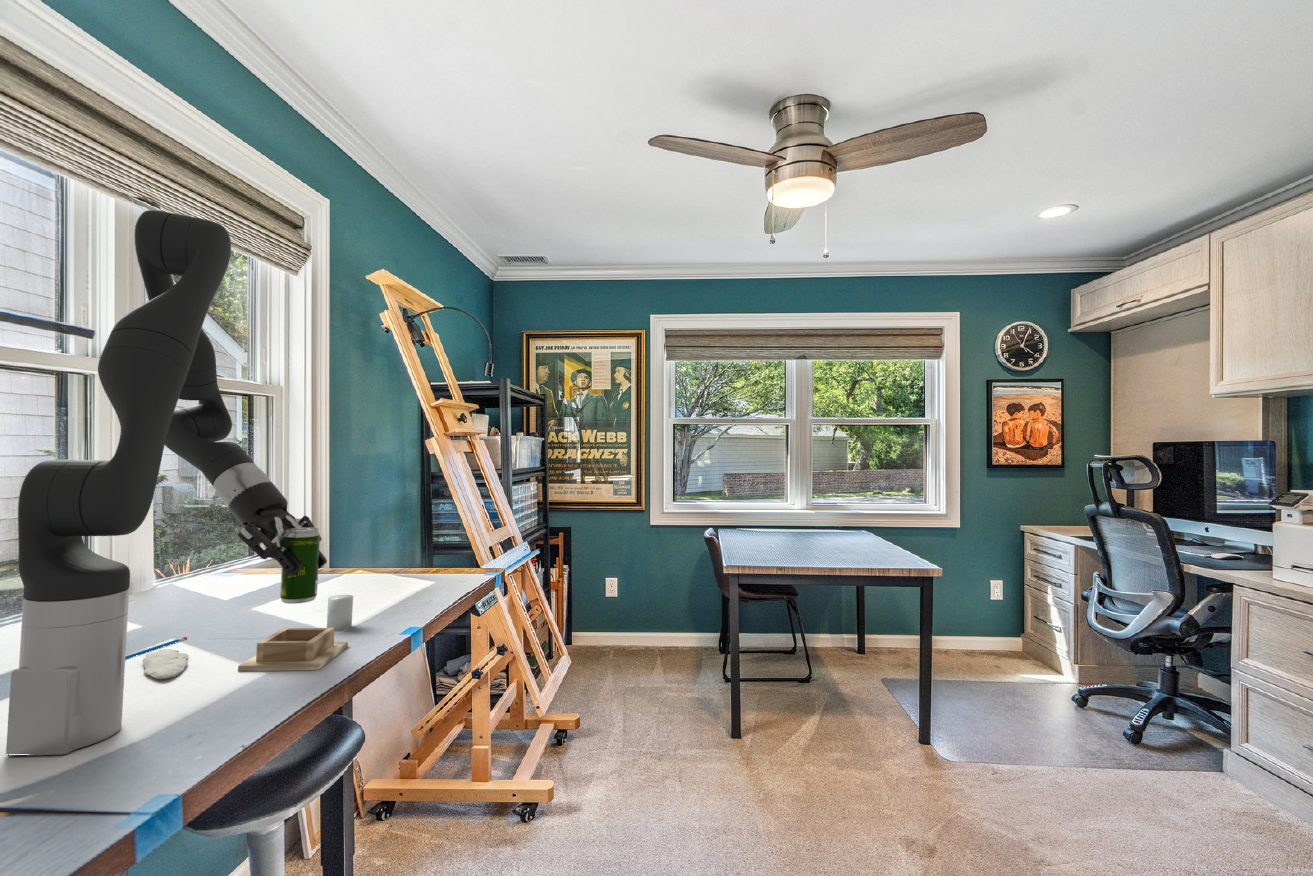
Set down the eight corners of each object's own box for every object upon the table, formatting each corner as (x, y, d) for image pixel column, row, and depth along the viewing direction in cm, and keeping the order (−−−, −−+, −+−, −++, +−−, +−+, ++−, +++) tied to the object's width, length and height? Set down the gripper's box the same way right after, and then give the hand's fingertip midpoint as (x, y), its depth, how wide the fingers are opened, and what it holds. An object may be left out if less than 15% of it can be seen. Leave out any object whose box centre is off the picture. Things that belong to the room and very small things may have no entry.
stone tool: (141, 663, 99) (142, 686, 87) (143, 649, 99) (144, 671, 88) (185, 658, 102) (192, 679, 91) (187, 645, 103) (193, 665, 91)
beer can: (314, 595, 105) (317, 526, 105) (319, 601, 101) (322, 530, 101) (278, 598, 102) (282, 528, 102) (281, 605, 98) (285, 532, 98)
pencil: (187, 640, 109) (187, 636, 109) (88, 674, 92) (88, 669, 92) (183, 640, 109) (183, 636, 109) (83, 673, 92) (84, 669, 92)
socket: (318, 670, 96) (319, 646, 96) (237, 671, 94) (239, 646, 94) (347, 646, 108) (348, 624, 108) (276, 647, 106) (277, 625, 106)
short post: (346, 630, 117) (348, 599, 117) (322, 631, 116) (324, 599, 116) (355, 624, 121) (356, 594, 121) (332, 624, 121) (333, 594, 121)
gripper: (230, 482, 96) (293, 561, 94) (296, 478, 110) (352, 547, 108) (199, 513, 96) (261, 593, 94) (268, 506, 111) (324, 575, 109)
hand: (310, 568), depth 101 cm, fingers closed on beer can, 5 cm apart
